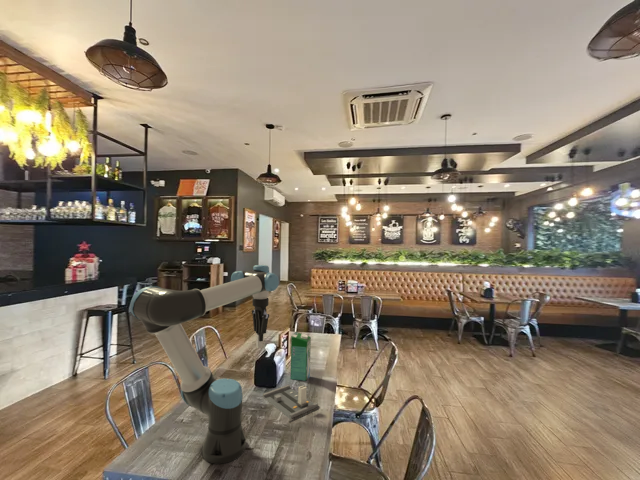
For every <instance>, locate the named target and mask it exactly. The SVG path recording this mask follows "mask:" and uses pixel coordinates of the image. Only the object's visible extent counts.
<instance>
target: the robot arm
mask: <svg viewBox="0 0 640 480" xmlns="http://www.w3.org/2000/svg"><path fill="white" fill-rule="evenodd" d="M252 268H253V269H252V270H239V271H237V270H236V271H234V272H232V274H231V277H230V281H229V282H225V283H222V284H217V285H215V286H210V287H208V288H203V289H201V290H200V289H198V288H193V289H189V290H188V289H187V290H176V289H170V288H164V287H163V288H162V287H160V286H157V285H154V286H146V287H143V288H140V289H139V290H138V291H137V292H136V293H135V294H134V295H133V296H132V298H131V301H130V304H129V311H130V313H131V315H132V316H133V317H135V319H137V320H140V322H141V323H142V325H143V326H144V328H145V330H146V332H147V333H148V334H149V335H150V334H151V335H155V337H156V338H157V341H158V342H159V344H160V345H161V347H162V349H163V351H164V352H165V354H166V355H167V357H168V359H169V361H170V363H171V365H172V366H173V368H174V370H175V372H176V373H177V375H178V376H179V379H180V380H181V382H180V395H181V398H182V400H183V401H184V403H185V404H186V405H188V406H189V407H192V408H194V409H196V410H197V411H198V412H200V413H202V414H204V415H206V416H207V417H208V420H207V421H208V424H207V427H208V428H207V429H208V430H207V432H206V435H205V437H204V438H205V439H204V441H203V443H202V449H201V451H202V453H201V454H202V458H203V459H204V460H205V461H206V462H208V463H211V464H217V465H219V464H220V465H221V464H226V463H229V462H232V461H234V460H236V459H238V458H239V457H240V456H242V454H243V453H244V451H245V450H246V446H247V445H246V443H247V438H246V436H245V433H244V432H245V431H244V428H243V426H242V414H243V388H242V385H241V383H240V382H239V381H237V380H236V379H233V378H226V377H225V378H220V379H217V378H215V376H214V374H213V372H212V370H211V369H210V368H209V367H208V366H204V365H203V362H202V361H201V358H200V356H199V355H198V353H197V351H196V349H195V347H194V346H193V343H192V341H191V339H190V338H189V336H188V334H187V332H186V330H185V329H184V327H183V325H182V324H184V323H186V322H191V321H193V320H195V319H197V318H200V317H203V316H204V315H206V313H207V312H208V311H209V312H210V311H212V310H215V309H217V308H219V307H222V306H225V305H228V304H232V303H233V302H236V301H240V300H242V299H245V298H247V297H248V298H249V297H251V296H252V303H251V304H252V306H253V308H254V309H253V310H251V314H252V321H253V322H252V324H253V331H254V332H255V334H256V335H255V336H256V337H255V339H256V342H255V343H256V344H255V347H256V348H257V349H262V348H263V347H264V334H267V329H268V322H269V318H270V313H268V312H267V307H268V306H269V302H270V301H269V294H270V293H269V292H274V291H276V290H277V289H278V287H279V284H280V282H279V276H278V275H277V274H276V273H274V272H270V267H269V265H266V264H265V265H264V264H256V265H253V267H252Z"/></svg>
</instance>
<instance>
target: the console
mask: <svg viewBox="0 0 640 480" xmlns="http://www.w3.org/2000/svg"><path fill="white" fill-rule="evenodd" d="M261 397H262V398H263V399H264V400H266V401H267V403H269V404H270V405H272V406H273V407H275V409H277V410H278V411H279V412H281V413H282V414H283V415H284V416H285V417H287V418H288V419H289V420H290V421H289V422H288V423H293V422H295V421H297V420H300V419H301V418H303V417H306V416H309V415H310V414H313V413H314V412H316V411H319V409H320V408H318V407H320V406H319V403H317V402H313V401H311V400H310V399H309V398H308V397H306V402H307V403H308V406H306V407H304V408H301V407H299V406H298V405H297V404H296V402H297V401H298V391H297V390H295V389H293V388H292V387H291V385H290V384H287V385H284V386H281V387H278V388H276V389H273V390H269V391H267V392H264V393H263V394H262V396H261ZM309 411H310V412H309ZM304 413H305V414H304Z"/></svg>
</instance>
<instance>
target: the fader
mask: <svg viewBox="0 0 640 480" xmlns="http://www.w3.org/2000/svg"><path fill="white" fill-rule="evenodd" d="M307 388H308V387H307V386H306V385H301V386H299V387H298V389H297V390H298V391H297V392H298V401H297V402H296V404H297V405H298V406H299V407H301V408H304V407H306V406H308V403H307V402H306V398H307Z"/></svg>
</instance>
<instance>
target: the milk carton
mask: <svg viewBox="0 0 640 480" xmlns="http://www.w3.org/2000/svg"><path fill="white" fill-rule="evenodd" d="M290 338H291V340H290V343H291V344H290V378H289V379H290V380H295V381H305V382H306V381H307V380H308V379H310V377H311V344H312V343H311V341H312V339H311V338H312V337H311V336H309V335H307V334H304V333H300V332H298V331H295V332H294V333H293V334H292V335H291V337H290Z"/></svg>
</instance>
